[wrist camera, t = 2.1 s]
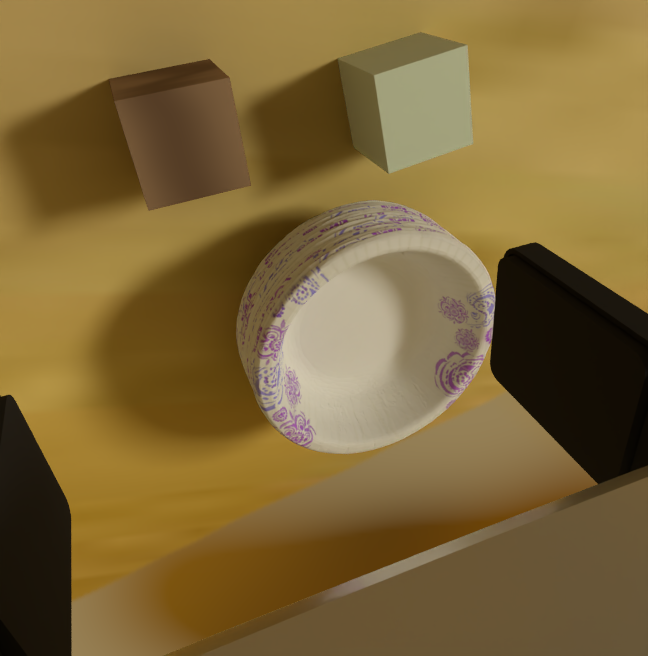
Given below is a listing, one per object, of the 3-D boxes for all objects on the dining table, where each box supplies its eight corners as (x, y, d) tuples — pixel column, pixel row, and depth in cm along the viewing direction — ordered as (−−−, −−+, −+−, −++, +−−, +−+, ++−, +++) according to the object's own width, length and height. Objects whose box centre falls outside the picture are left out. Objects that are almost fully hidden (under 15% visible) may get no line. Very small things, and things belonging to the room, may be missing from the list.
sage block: (419, 31, 33) (467, 44, 29) (429, 121, 36) (473, 143, 32) (336, 58, 32) (374, 75, 28) (353, 147, 35) (388, 173, 31)
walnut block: (208, 58, 30) (229, 77, 26) (229, 155, 33) (251, 185, 29) (108, 78, 29) (114, 101, 25) (139, 176, 32) (148, 210, 28)
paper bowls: (447, 335, 46) (507, 398, 40) (263, 413, 44) (295, 494, 37) (423, 146, 37) (495, 189, 30) (188, 234, 34) (214, 300, 28)
